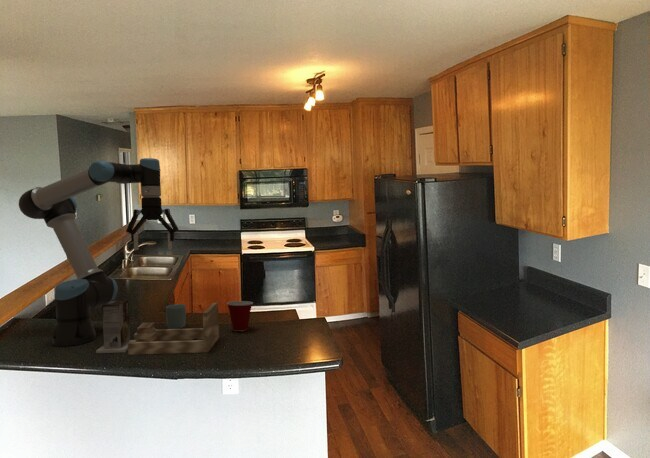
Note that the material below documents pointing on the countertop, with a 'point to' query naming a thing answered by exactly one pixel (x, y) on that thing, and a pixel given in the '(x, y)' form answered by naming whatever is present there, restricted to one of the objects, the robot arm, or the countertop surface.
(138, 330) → the offcut stack
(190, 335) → the rack
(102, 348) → the mat
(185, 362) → the countertop surface
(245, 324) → the plastic cup
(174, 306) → the cup
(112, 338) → the coffee box
